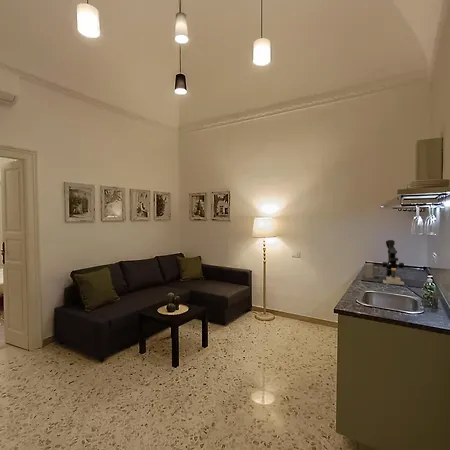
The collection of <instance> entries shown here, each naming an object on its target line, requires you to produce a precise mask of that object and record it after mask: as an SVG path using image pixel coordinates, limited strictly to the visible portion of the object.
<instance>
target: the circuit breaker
mask: <svg viewBox="0 0 450 450" xmlns="http://www.w3.org/2000/svg"><path fill="white" fill-rule="evenodd" d="M363 265H364V273H363V274H364V275H363V277H364V278H365V279H375V276H379V275H380V272H381V269H380V268H379V267H378V266H375V264H374V263H373V262H372V263H371V262H370V263H369V262H367V263H366V262H364V264H363Z"/></svg>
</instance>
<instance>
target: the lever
mask: <svg viewBox="0 0 450 450" xmlns="http://www.w3.org/2000/svg"><path fill="white" fill-rule="evenodd" d="M391 270H392V276H391V277H394V278H395V276H396V272H397V268H391Z"/></svg>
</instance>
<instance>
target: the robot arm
mask: <svg viewBox="0 0 450 450" xmlns="http://www.w3.org/2000/svg"><path fill="white" fill-rule="evenodd" d="M395 244H396V243H395V240H394V239H388V240H386V241H385V245H386V247H387V254H388V255H387V256H388V257H387V261H382V262H381V263H382V264H381V265H382V268H385V271H386V277H390V275H391V277H392V270H391V268H396V269H398V267H399V268H400V269H404V268H405V264H404V262H399V257H398V256H397V254H398V251H397V249H396V247H395ZM396 256H397V257H396ZM397 262H399V263H397Z"/></svg>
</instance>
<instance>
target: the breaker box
mask: <svg viewBox="0 0 450 450" xmlns="http://www.w3.org/2000/svg"><path fill="white" fill-rule="evenodd" d="M385 277H386V278H385V279H382V283H383V284H385V285H386V284H387V285H399V286H405V282H404V281H402V280H401V277H398V276H397V275H395V278H394V277H392V276H391V275H390V276H385Z"/></svg>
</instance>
